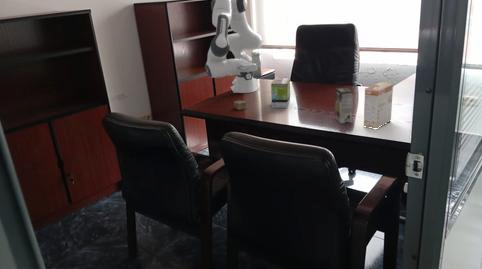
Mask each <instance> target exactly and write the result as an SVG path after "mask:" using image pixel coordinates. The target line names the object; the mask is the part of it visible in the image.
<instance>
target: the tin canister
mask: <svg viewBox="0 0 482 269" xmlns="http://www.w3.org/2000/svg"><path fill="white" fill-rule="evenodd" d="M261 54H262V52H260V51H254V52H251V54H250V56H251V58H252V63H261V64H262V60H261V59H262V56H261ZM262 74H263V73H262V65H261V66H258V67H257V70H256V71H253V78H255V79H256V80H257V79H261V78H263V77H262Z"/></svg>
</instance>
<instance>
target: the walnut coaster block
mask: <svg viewBox="0 0 482 269" xmlns="http://www.w3.org/2000/svg"><path fill="white" fill-rule="evenodd" d="M233 104H234V106H233V107H234V110H235V109H236V110H238V111H241V110H245V109H247V101H244V100H237V101H234V102H233Z"/></svg>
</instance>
